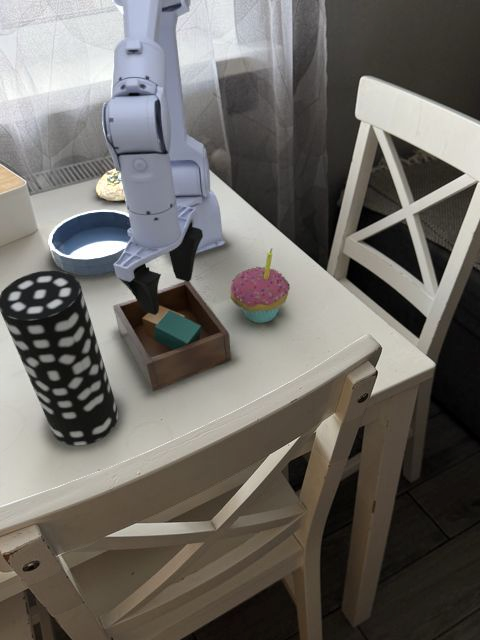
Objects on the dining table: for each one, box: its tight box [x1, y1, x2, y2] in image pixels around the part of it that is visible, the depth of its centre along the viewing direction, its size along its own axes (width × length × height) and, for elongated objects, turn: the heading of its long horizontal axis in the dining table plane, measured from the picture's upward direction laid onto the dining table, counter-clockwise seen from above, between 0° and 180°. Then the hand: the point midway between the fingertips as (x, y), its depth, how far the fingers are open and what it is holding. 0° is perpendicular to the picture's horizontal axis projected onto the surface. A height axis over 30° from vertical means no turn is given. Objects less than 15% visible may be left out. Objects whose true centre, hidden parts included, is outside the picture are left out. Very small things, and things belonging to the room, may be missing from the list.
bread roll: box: [95, 168, 126, 202], centre depth 117 cm, size 11×11×5 cm
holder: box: [112, 280, 232, 392], centre depth 83 cm, size 12×14×5 cm
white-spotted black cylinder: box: [0, 270, 119, 446], centre depth 68 cm, size 8×8×20 cm
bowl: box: [47, 209, 131, 276], centre depth 102 cm, size 15×15×4 cm
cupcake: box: [230, 247, 291, 324], centre depth 85 cm, size 9×8×12 cm
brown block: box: [142, 305, 185, 338], centre depth 85 cm, size 4×5×3 cm
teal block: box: [155, 310, 201, 350], centre depth 80 cm, size 4×5×3 cm
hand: (167, 294), depth 78 cm, fingers open, 7 cm apart
